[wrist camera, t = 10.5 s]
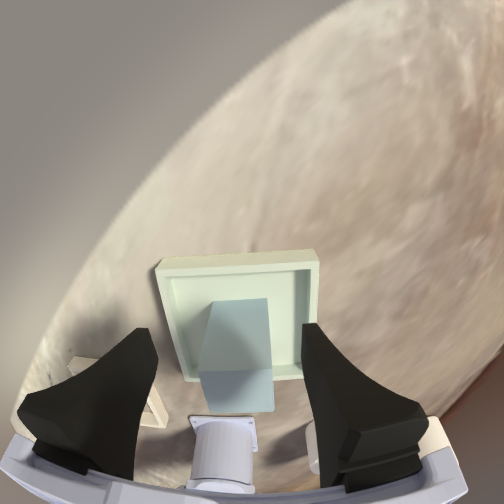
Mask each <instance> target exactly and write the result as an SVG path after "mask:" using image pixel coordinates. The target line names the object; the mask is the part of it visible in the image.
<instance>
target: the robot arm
mask: <svg viewBox="0 0 504 504" xmlns="http://www.w3.org/2000/svg"><path fill="white" fill-rule="evenodd" d="M158 360H159V359H158V356H157V353H156V350H155V347H154V344H153V341H152V339H151V335H150V332H149V329H148V328H136V329H135V330H134V331H132V332H131V333H130V334H129V335H128V336H127V337H125V338H124V339H123V340H122V341H121V342H120V343H118V344H117V345H116V346H115V347H114V348H113V349H112V350H110V351H109V352H108V353H107V354H105V355H104V356H103V357H102V358H100V359H99V360H98V361H96V362H95V363H94V364H92V365H91V366H90V367H88V368H87V369H85V370H83V371H82V372H80V373H79V374H77V375H75V376H73V377H71V378H69V379H67V380H66V381H64V382H62V383H59V384H57V385H55V386H52V387H50V388H47V389H44V390H41V391H37V392H34V393H30V394H27V396H26V397H25V399H24V400H23V402H22V404H21V405H20V407H19V409H18V410H17V414H18V417H19V419H20V420H21V421H22V423H23V424H24V425H25V426H26V427H27V429H28V430H29V431H30V432H31V433H32V434H33V435H34V436H35V437H36V438H37V440H36V442H35V443H34V442H33V441H31V440H30V439H28V438H26V437H24V436H22V435H20V434H18V433H15V435H14V437H13V438H12V440H11V442H10V444H9V446H8V448H7V450H6V452H5V454H4V456H3V458H2V460H1V462H0V469H1V470H2V471H4V472H5V473H6V474H7V475H8V476H10V477H11V478H12V479H13V480H15V481H16V482H17V483H19V484H20V485H22V486H23V487H24V488H25V489H27V490H28V491H30V492H31V493H33V494H35V495H36V496H38V497H40V498H42V499H44V500H46V501H47V502H49V503H51V504H451V503H452V502H454V501H455V500H457V499H458V498H459V497H461V496H463V495H464V494H465V493H467V491H468V488H467V485H466V483H465V480H464V477H463V475H462V472H461V470H460V468H459V465H458V463H457V460H456V458H455V456H454V454H453V451H452V449H451V447H450V446H447V447H444V448H442V449H440V450H437V451H435V452H432V453H430V454H427V455H425V456H424V457H422V458H421V459H420V458H419V455H418V453H419V452H420V448H419V445H418V442H419V441H420V440H421V438H422V437H423V435H424V434H425V433H426V431H427V429H428V427H429V420H428V418H427V416H426V414H425V412H424V410H423V409H422V407H421V406H420V404H419V403H418V402H416V401H413V400H410V399H408V398H405V397H403V396H400V395H398V394H396V393H394V392H392V391H390V390H388V389H387V388H385V387H383V386H381V385H380V384H378V383H377V382H375V381H373V380H372V379H370V378H369V377H368V376H366V375H365V374H364V373H362V372H361V371H360V370H359V369H357V368H356V367H355V366H354V365H353V364H352V363H351V362H350V361H349V360H348V359H346V358H345V357H344V356H343V355H342V353H341V352H340V351H339V350H338V349H337V348H336V347H335V346H334V345H333V344H332V342H331V341H330V340H329V339H328V338H327V336H326V335H325V334H324V333H323V331H322V330H321V328H320V327H319V326H318V324H316V323H305V324H302V340H301V363H302V371H303V377H304V381H305V385H306V389H307V393H308V396H309V400H310V404H311V408H312V412H313V417H314V423H315V431H316V439H317V448H318V459H319V471H320V487H321V489H314V490H306V491H297V492H285V493H268V494H261V493H260V492H255V486H254V485H252V464H253V452H257V451H258V445H257V437H256V429H255V421H254V418H253V417H211V416H190V418H189V420H190V422H191V424H192V427H193V429H194V431H195V434H196V436H197V438H196V444H195V450H194V457H193V463H192V469H191V476H190V480H189V479H187V483H186V486H185V485H180V486H179V487H178V488H176V489H172V488H166V487H160V486H154V485H149V484H144V483H139V482H135V481H133V472H134V458H135V448H136V442H137V435H138V430H139V425H140V420H141V416H142V413H143V410H144V407H145V404H146V401H147V398H148V396H149V393H150V390H151V387H152V384H153V382H154V379H155V375H156V371H157V366H158Z"/></svg>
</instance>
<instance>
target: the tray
mask: <svg viewBox="0 0 504 504" xmlns="http://www.w3.org/2000/svg"><path fill="white" fill-rule="evenodd" d="M155 274H156V278H157V282H158V287H159V291H160V295H161V299H162V303H163V307H164V311H165V315H166V318H167V322H168V326H169V329H170V333H171V337H172V340H173V344H174V347H175V350H176V354H177V357H178V360H179V363H180V366H181V370H182V373H183V376H184V379H185V382H200V378H199V375H198V372H197V370H198V366H199V361H200V357H201V352H202V348H203V343H204V339H205V334H206V330H207V326H208V321H209V317H210V313H211V308H212V304H213V301H225V300H243V299H258V298H267V301H268V314H269V328H270V342H271V357H272V372H273V381H275V380H289V379H300V378H304V377H303V371H302V363H301V340H302V324H305V323H316V321H317V304H318V283H319V259H318V257H317V255H316V253H315V251H314V249H301V250H285V251H268V252H252V253H235V254H219V255H202V256H186V257H169V258H163V259H162V260H161V262H160V263H159V265H158V266H157V268H156V269H155Z"/></svg>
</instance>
